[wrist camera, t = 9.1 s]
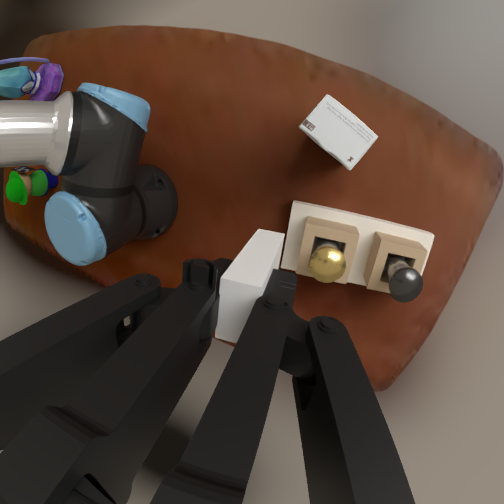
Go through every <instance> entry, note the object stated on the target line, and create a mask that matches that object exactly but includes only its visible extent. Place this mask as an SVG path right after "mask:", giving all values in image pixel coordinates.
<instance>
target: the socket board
mask: <svg viewBox="0 0 504 504" xmlns="http://www.w3.org/2000/svg"><path fill="white" fill-rule="evenodd" d="M319 237H321V238H326V239H331V240H335V241H337V243H338V248H339V250H340V251H341V252H342V253H343V255H344V257H345V261H346V269H345V272H344V274H343V275H342V277H341V278H340V279H338V280H337V281H334V282H338V283H343V284H346V283H347V282H350V283H354V284H359V285H364V286H366V287H367V289H372V290H376V291H381V292H386V293H390V291H389V280H390V279H389V277H388V275H387V273H386V271H385V269H384V266H385V262H386V259H387V256H388V253H393V254H397V255H401V256H402V257H403V258H404V260H405V261H406V262H407V264H408V265H409V267H412V268H415V269H416V270H417V271H418V272H419V274H420V275H421V276H422V273H423V270H424V267H425V264H426V261H427V258H428V255H429V252H430V249H431V246H432V243H433V240H434V235H433V234H432V233H431V232H427V231H424V230H420V229H416V228H413V227H409V226H405V225H401V224H397V223H394V222H390V221H386V220H382V219H378V218H373V217H369V216H365V215H361V214H357V213H352V212H348V211H344V210H339V209H335V208H330V207H325V206H321V205H316V204H311V203H306V202H301V201H296V200H294V201H293V204H292V210H291V215H290V221H289V226H288V232H287V237H286V243H285V248H284V253H283V258H282V264H281V268H284V269H289V270H293V271H296V274H301V275H305V276H310V277H313V275H312V274H311V272H310V268H309V263H310V258H311V256H312V254H313V253H314V251H315V247H316V241H317V239H318V238H319Z"/></svg>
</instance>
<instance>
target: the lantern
mask: <svg viewBox="0 0 504 504" xmlns="http://www.w3.org/2000/svg"><path fill="white" fill-rule="evenodd" d="M19 61H39V62H46V64H42V65H41V66H40V68H39V69H38V70H37V72H32V71H31V70H30V69H29V68H28V67H26V66H21V67H15V68H10V69H5V70H1V71H0V96H4V97H8V98H20V97H22V96H23V95H25V94H30V95H31V97H30V100H29V101H53V100H54V98H55V97H56V96H57V95H58V93H59V92H60V89H61V85H62V81H63V77H64V75H63V72H62V69H61V66H60V65H58V64H53V63H50V62H49V60H48V59H43V58H35V57H23V58H12V59H7V60H0V64H5V63H10V62H19Z"/></svg>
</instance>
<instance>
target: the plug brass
mask: <svg viewBox="0 0 504 504" xmlns="http://www.w3.org/2000/svg"><path fill="white" fill-rule="evenodd" d="M309 268H310V272H311V274H312V275H313V277H314V278H315V279H317V280H318V281H321V282H324V283H331V282H334V281H337V280H338V279H340V278H341V277H342V275H343V274H344V272H345V269H346V261H345V257H344V255H343V253H342V252H341V251H340V250H339V248H338V243H337V241H335V240H331V239H326V238H321V237H319V238H318V239H317V241H316V247H315V251H314V253H313V254H312V256H311V258H310V263H309Z"/></svg>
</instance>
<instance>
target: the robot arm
mask: <svg viewBox="0 0 504 504" xmlns="http://www.w3.org/2000/svg"><path fill="white" fill-rule="evenodd" d="M77 91H78V92H70V91H66V92H65V93H63V94H62V95H61V96H59V97H58V98H57V99H56V100H54V101H27V100H11V101H0V167H12V166H28V165H44V166H46V167H47V169H48V170H49V171H50V172H51V173H52V174H53V175H56V176H59V175H62V183H61V191H60V192H57V193H55V194H54V195H53V196H51V197H50V200H49V201H48V202H47V204H46V207H45V225H46V229H47V233H48V235H49V238H50V240H51V242H52V243H53V245H54V247H55V249H56V250H57V251H58V253H59V254H60V255H61V256H62V257H63V258H64V259H66V260H67V261H68V262H70V263H72V264H75V265H79V266H84V265H88V264H90V263H92V262H95V261H98V260H101V259H102V258H104V257H105V256H107V255H108V254H110V253H112V252H113V251H115V250H117V249H118V248H120V247H122V246H123V245H125V244H127V243H128V242H130V241H132V240H149V239H153V238H156V237H158V236H159V235H161V234H163V233H164V232H166V231H167V230H168V229H169V228H170V227H171V225H172V224H173V222H174V220H175V217H176V214H177V208H178V199H177V193H176V190H175V187H174V185H173V183H172V181H171V179H170V178H169V177H168V176H167V174H166V173H165V172H163V171H162V170H161V169H159V168H157V167H155V166H153V165H148V164H142V165H138V162H139V158H140V153H141V149H142V145H143V141H144V137H145V134H146V133H147V124H148V120H149V116H150V106H149V104H148V103H147V102H146V101H145V100H144V99H142V98H140V97H137V96H135V95H132V94H129V93H126V92H123V91H120V90H117V89H113V88H109V87H104V86H100V85H97V84H92V83H82V84H81V85H80V87H79V88H78V90H77ZM284 236H285V234H282V233H277V232H273V231H268V230H263V229H258V230H257V231H256V232H255V234H254V235H253V236H252V238H251V239H250V240H249V242H248V243H247V244H246V245H245V247H244V248H243V249H242V251H241V252H240V253H239V255H238V256H237V257H236V258H235V260H229V259H225V258H219V259H217V260H214V261H213V262H212V261H209V260H206V259H190V260H186V261H184V262H183V278H182V283H181V284H180V285H179V286H178V287H177V288H163V287H161V282H160V280H159V278H157V277H156V276H154V275H150V274H145V273H143V274H137V275H134V276H131V277H129V278H127V279H125V280H123V281H120V282H118V283H116V284H114V285H112V286H110V287H108V288H106V289H104V290H102V291H99V292H97V293H95V294H93V295H91V296H89V297H87V298H85V299H83V300H81V301H79V302H77V303H75V304H73V305H71V306H69V307H67V308H64V309H63V310H60V311H58V312H56V313H54V314H52V315H50V316H48V317H46V318H44V319H42V320H40V321H39V322H37V323H35V324H33V325H31V326H29V327H27V328H25V329H23V330H21V331H19V332H17V333H15V334H13V335H11V336H9V337H7V338H6V339H4V340H2V341H0V450H3V449H4V450H3V451H2V452H1V453H0V504H126V503H127V501H128V499H129V497H130V494H131V489H132V482H133V479H134V477H135V476H136V474H137V472H138V470H139V469H140V467H141V465H142V464H143V462H144V460H145V458H146V457H147V455H148V453H149V452H150V450H151V448H152V446H153V445H154V443H155V441H156V439H157V438H158V436H159V434H160V432H161V431H162V429H163V427H164V426H165V424H166V422H167V421H168V419H169V417H170V415H171V414H172V412H173V410H174V408H175V407H176V405H177V403H178V401H179V399H180V398H181V396H182V394H183V393H184V391H185V389H186V387H187V386H188V384H189V382H190V380H191V379H192V377H193V375H194V373H195V372H196V370H197V368H198V366H199V364H200V363H201V361H202V359H203V357H204V356H205V354H206V352H207V350H208V349H209V347H210V345H211V340H212V333H213V332H214V330H215V328H216V333H215V338H219V339H222V340H226V341H230V342H234V343H236V345H235V348H234V350H233V352H232V354H231V356H230V358H229V361H228V363H227V365H226V367H225V369H224V371H223V373H222V375H221V378H220V380H219V382H218V384H217V386H216V388H215V390H214V393H213V395H212V397H211V399H210V401H209V403H208V405H207V407H206V409H205V412H204V414H203V416H202V418H201V420H200V422H199V424H198V426H197V428H196V430H195V432H194V434H193V436H192V438H191V440H190V442H189V444H188V446H187V448H186V450H185V452H184V454H183V457H182V458H181V460H180V462H179V464H178V466H177V467H176V468H174V469H171V470H170V471H169V472H168V473H167V474H166V475H165V477H164V479H163V481H162V482H161V484H160V486H159V488H158V489H157V491H156V493H155V495H154V497H153V499H152V501H151V503H150V504H242V502H243V498H244V495H245V490H246V486H247V483H248V480H249V476H250V473H251V470H252V466H253V463H254V460H255V456H256V453H257V449H258V446H259V442H260V439H261V435H262V431H263V428H264V424H265V421H266V417H267V413H268V409H269V405H270V402H271V398H272V394H273V390H274V386H275V382H276V377H277V374H278V370H279V369H281V370H283V371H285V372H287V373H289V374H291V375H293V377H292V383H293V389H294V396H295V402H296V408H297V415H298V422H299V428H300V435H301V442H302V448H303V456H304V462H305V470H306V476H307V484H308V491H309V499H310V504H415V502H414V498H413V495H412V492H411V489H410V486H409V484H408V480H407V477H406V475H405V472H404V469H403V466H402V463H401V460H400V458H399V455H398V452H397V450H396V447H395V444H394V441H393V439H392V436H391V434H390V431H389V428H388V426H387V423H386V421H385V418H384V415H383V413H382V410H381V408H380V406H379V403H378V401H377V398H376V396H375V393H374V391H373V388H372V386H371V384H370V381H369V379H368V376H367V374H366V372H365V369H364V367H363V365H362V363H361V360H360V358H359V356H358V353H357V351H356V349H355V347H354V344H353V342H352V340H351V338H350V335H349V333H348V331H347V329H346V327H345V326H344V324H343V323H341V322H340V321H338V320H337V319H335V318H332V317H327V316H317V317H314V318H312V319H311V320H310V321H309V322H308V321H306V320H304V319H302V318H300V317H299V316H297V315H296V314H295V313H294V311H293V309H292V305H293V300H294V295H295V290H296V285H297V280H298V278H297V277H296V275H295V273H292V272H287V271H283V270H278V268H279V263H280V257H281V252H282V247H283V241H284ZM127 316H129V317H130V324H129V325H128V326H124V321H123V319H124V318H125V317H127Z"/></svg>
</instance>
